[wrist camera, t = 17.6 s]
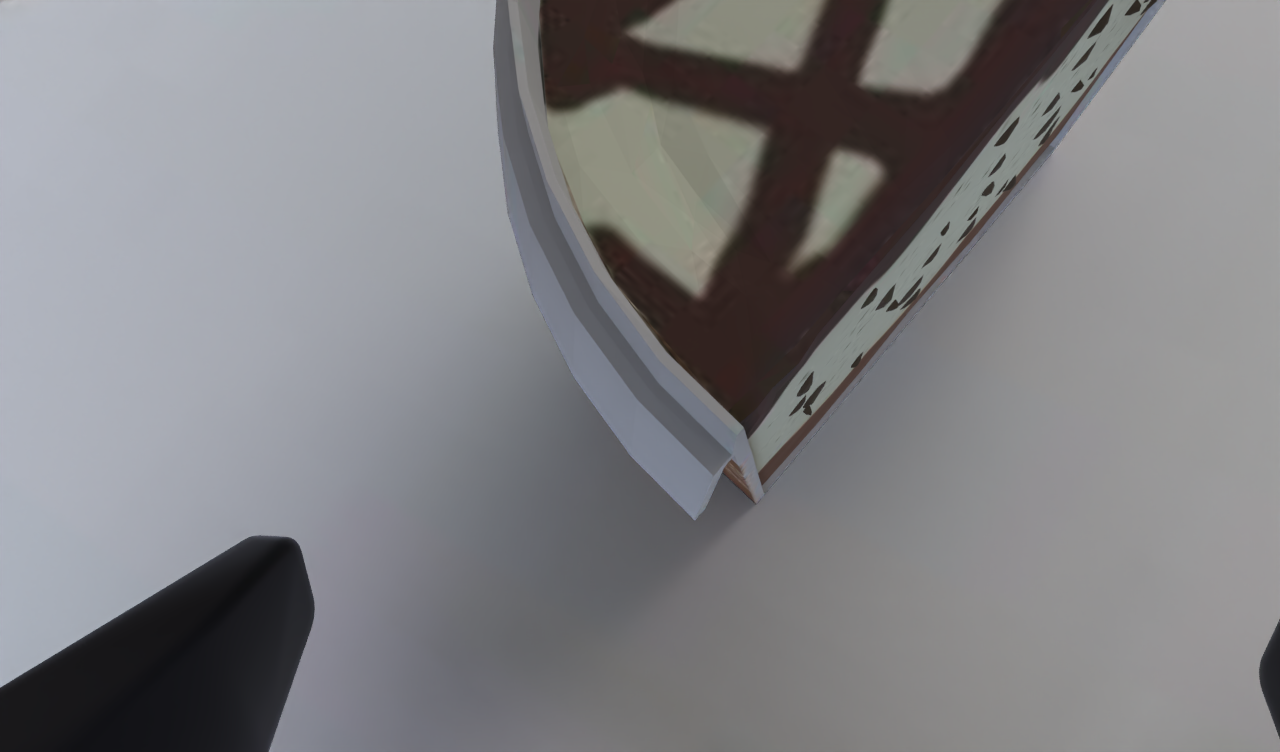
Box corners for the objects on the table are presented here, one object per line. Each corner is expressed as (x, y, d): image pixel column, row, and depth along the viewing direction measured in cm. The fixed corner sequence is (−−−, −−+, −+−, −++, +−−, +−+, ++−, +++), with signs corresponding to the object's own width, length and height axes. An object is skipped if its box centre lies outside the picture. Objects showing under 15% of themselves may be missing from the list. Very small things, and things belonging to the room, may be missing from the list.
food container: (854, -61, 19) (997, -741, 10) (1101, 94, 18) (1557, -520, 8) (463, 357, 17) (156, 35, 8) (703, 567, 16) (690, 491, 6)
